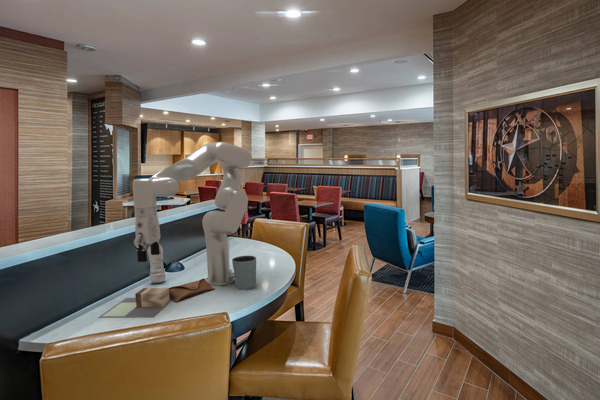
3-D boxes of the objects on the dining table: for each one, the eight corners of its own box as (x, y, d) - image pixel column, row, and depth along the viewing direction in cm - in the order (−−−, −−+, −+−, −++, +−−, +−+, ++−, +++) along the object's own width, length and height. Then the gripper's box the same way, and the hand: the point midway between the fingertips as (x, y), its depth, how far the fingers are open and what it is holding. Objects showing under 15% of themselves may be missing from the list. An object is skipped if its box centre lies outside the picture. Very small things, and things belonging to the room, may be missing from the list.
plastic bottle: (161, 285, 154) (157, 240, 152) (146, 284, 155) (143, 240, 153) (168, 280, 160) (165, 237, 158) (155, 279, 162) (151, 237, 159)
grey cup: (253, 290, 143) (251, 262, 142) (229, 289, 145) (228, 261, 144) (260, 282, 153) (259, 255, 152) (238, 281, 155) (237, 255, 154)
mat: (175, 298, 138) (175, 297, 138) (154, 318, 120) (153, 317, 120) (126, 298, 139) (126, 297, 139) (97, 319, 121) (97, 317, 121)
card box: (169, 300, 135) (168, 287, 135) (162, 306, 129) (161, 293, 129) (144, 300, 136) (143, 287, 135) (136, 307, 130) (135, 293, 129)
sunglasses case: (177, 301, 132) (171, 284, 134) (169, 307, 136) (163, 290, 138) (216, 288, 146) (211, 273, 147) (208, 294, 150) (203, 279, 152)
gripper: (144, 215, 120) (147, 264, 122) (166, 209, 137) (169, 252, 139) (122, 215, 120) (126, 264, 122) (147, 209, 138) (150, 252, 139)
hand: (149, 258), depth 130 cm, fingers open, 9 cm apart
